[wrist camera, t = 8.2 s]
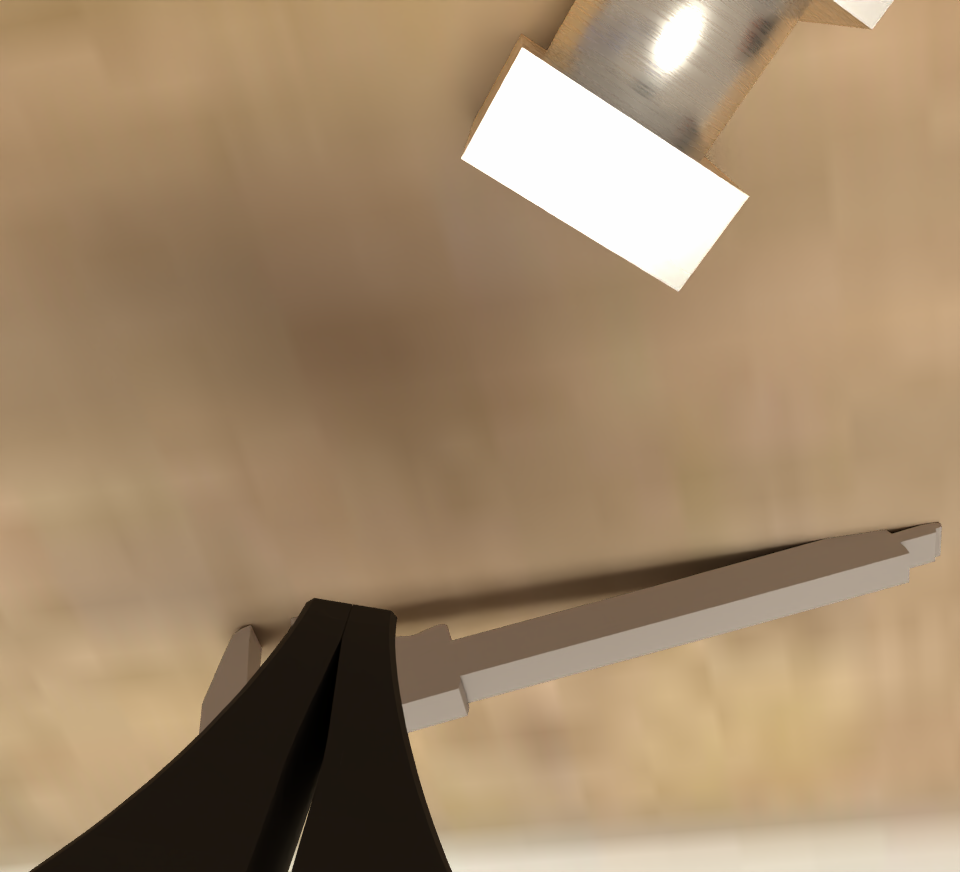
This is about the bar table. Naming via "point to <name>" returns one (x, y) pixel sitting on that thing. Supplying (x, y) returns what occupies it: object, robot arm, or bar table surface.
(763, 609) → the caliper
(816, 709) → the bar table surface
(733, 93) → the coupling
